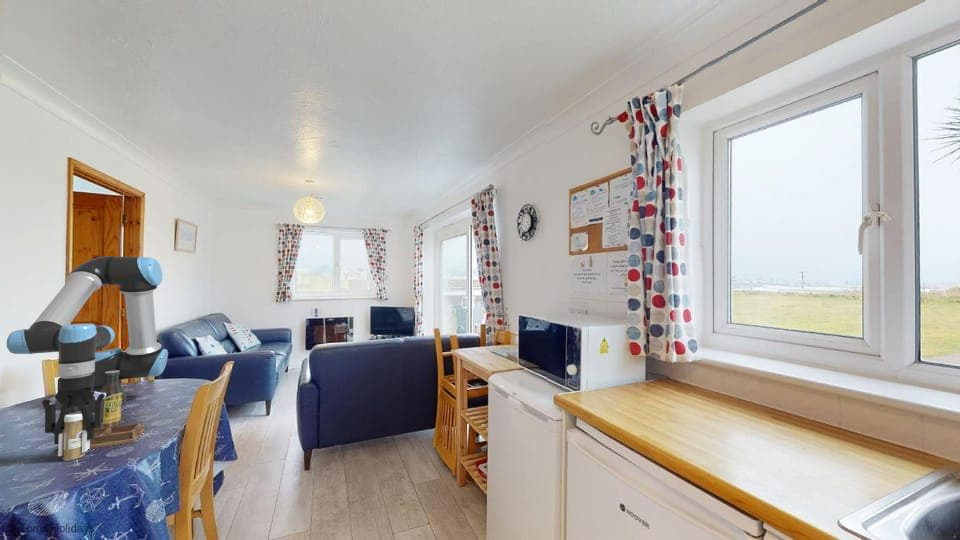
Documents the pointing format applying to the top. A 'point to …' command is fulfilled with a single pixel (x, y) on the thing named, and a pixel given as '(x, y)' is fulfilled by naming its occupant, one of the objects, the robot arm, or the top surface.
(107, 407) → the sauce bottle
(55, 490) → the top surface
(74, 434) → the sprinkles bottle
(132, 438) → the slot rack
